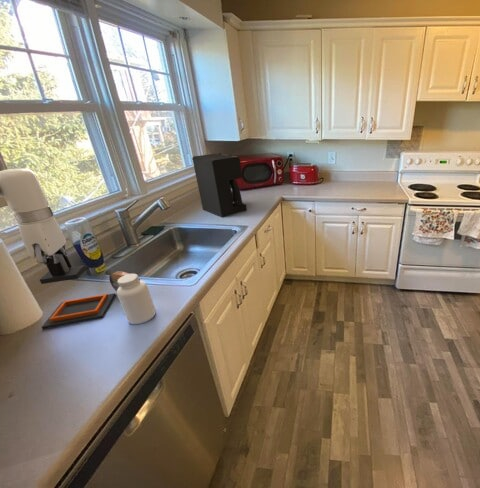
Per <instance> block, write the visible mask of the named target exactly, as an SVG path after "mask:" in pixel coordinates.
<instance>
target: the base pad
mask: <svg viewBox="0 0 480 488" xmlns="http://www.w3.org/2000/svg"><path fill="white" fill-rule="evenodd" d="M116 297H117V293H116V292H114V293H104V294H100V295H99V294H98V295H94V296H93V295H92V296H86V297H79V298H75V299H70V300H64V301H62V302H61V303H60V304H59V305H57V308H56V309H55V310H54V311H53V312H52V313H51V314H50V316H49V317H48V318H47V319H46V320H45V322H44V323H43V324H42V326H41V329H42V330H46V329H52V328H58V327H62V326H68V325H73V324H78V323H84V322H88V321H94V320H99V319H103V318H104V317H105V315H106V314H107V312H108V310H109V309H110V307H111V305H112V303H113V302H114V300H115V298H116Z"/></svg>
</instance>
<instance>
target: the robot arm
mask: <svg viewBox="0 0 480 488" xmlns="http://www.w3.org/2000/svg"><path fill="white" fill-rule="evenodd" d="M0 198H3V199H4V201H6V203H7V206H8V207H9V209H10V211H11V213H12V215H13V217H14V218H15V219H14V220H16V222H17V224H18V225H17V226H18V231H19V234H20V238H21V239H22V242H23V245H24V247H25V249H26V251H27V253H28V255H29V257H30V258H32V259H35V260H36V263H38V264H43V265H44V266H46V267H47V269H48V272H49V271H50V273H51V275H52V276H57V275H64V274H65V271H64V269H63V267H62V265H61V263H60V262H58V260H57V258H56V255H55V254H62V255H63V258H64V260H65V262H66V264H67V266H68V268H71V267H73V266H72V264H71V262H70V259H69V258H68V256H67V255H68V254H67V251H66V245H67V239H66V237H65V233H64V232H63V230H62V228H61V226H60V224H59V223H58V221H57V220H56V218H55V215H54V212H53V210H52V208H51V206H50V203H49V202H48V199H47V197H46V195H45V193H44V191H43V189H42V186H41V184H40V182H39V180H38V178H37V176H36V174H35V171H33V170H32V169H29V168H21V167H20V168H8V169H2V170H0ZM50 256H51V258H52V259H51V258H48V257H50Z"/></svg>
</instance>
